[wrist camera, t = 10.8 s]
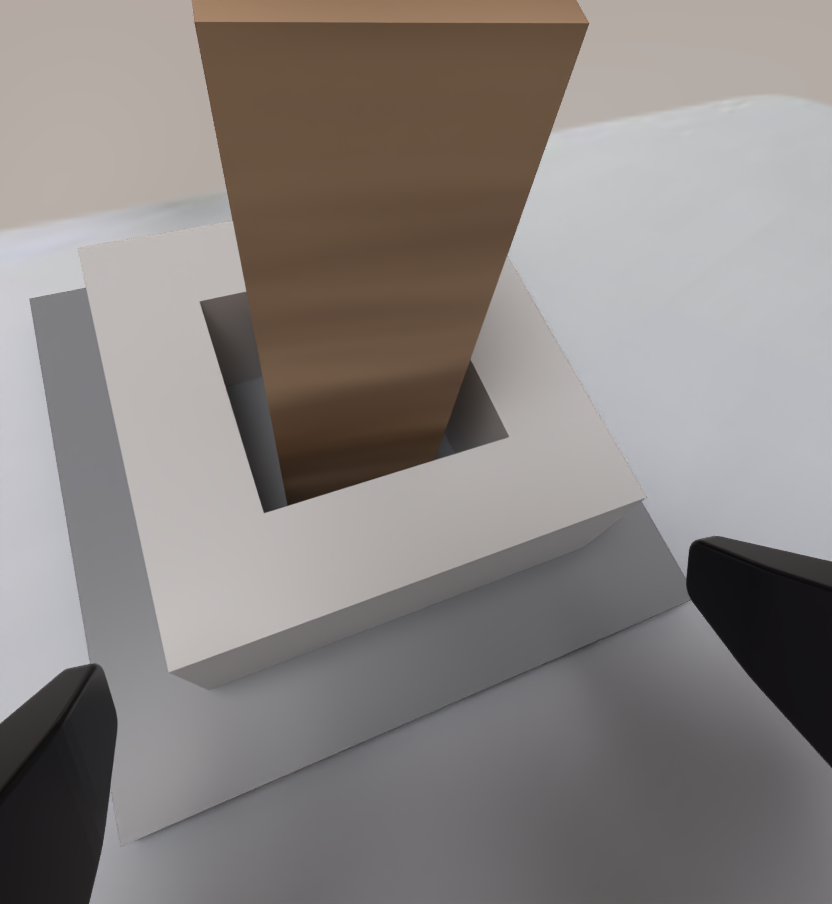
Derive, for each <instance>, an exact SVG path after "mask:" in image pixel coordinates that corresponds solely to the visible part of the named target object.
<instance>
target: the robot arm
mask: <svg viewBox="0 0 832 904" xmlns="http://www.w3.org/2000/svg"><path fill="white" fill-rule="evenodd" d="M686 588H687V592H688V595H689V597H690V599H691V600H692V602H693V603H694V604H695V606H696V607H697V608H698V610H699V611H700V612H701V614H702V615H703V616H704V618H705V619H706V620H707V622H708V623H709V624H710V626H711V627H712V628H713V630H714V631H715V632H716V634H717V635H718V636H719V638H720V639H721V640H722V642H723V643H724V644H725V646H726V647H727V648H728V650H729V651H730V652H731V654H732V655H733V656H734V658H735V659H736V660H737V662H738V663H739V664H740V665H741V667H742V668H743V669H744V670H745V672H746V673H747V674H748V675H749V677H750V678H751V679H752V680H753V681H754V682H755V683H756V685H757V686H758V687H759V688H760V689H761V690H762V691H763V692H764V694H765V695H766V696H767V697H768V698H769V699H770V700H771V701H772V702H773V704H774V705H775V706H776V707H777V708H778V709H779V710H780V711H781V712H782V713H783V715H784V716H785V717H786V718H787V719H788V720H789V721H790V722H791V723H792V725H793V726H794V727H795V728H796V729H797V730H798V731H799V732H800V733H801V734H802V736H803V737H804V738H805V739H806V740H807V741H808V742H809V743H810V744H811V746H812V747H813V748H814V749H815V750H816V751H817V752H818V753H819V754H820V755H821V757H822V758H823V759H824V760H825V761H826V762H827V763H828V764H829V765H830V766H831V768H832V562H831V561H827V560H822V559H818V558H813V557H809V556H805V555H800V554H796V553H791V552H787V551H782V550H778V549H773V548H769V547H765V546H760V545H756V544H751V543H747V542H742V541H738V540H734V539H729V538H725V537H720V536H712V537H707V538H703V539H698V540H695V541H694V542H693V543H692V544H691V546H690V549H689V557H688V568H687V578H686ZM117 730H118V720H117V712H116V708H115V705H114V702H113V699H112V695H111V692H110V689H109V685H108V682H107V679H106V675H105V672H104V670H103V668H102V667H101V666H100V665H99V664H97V663H93V664H88V665H83V666H78V667H73V668H68V669H66V670H64V671H63V672H61V673H60V674H59V675H58V676H56V677H55V678H54V679H53V680H52V681H50V682H49V683H48V684H47V685H46V686H44V687H43V688H42V689H41V690H40V691H39V692H37V693H36V694H35V695H34V696H33V697H31V698H30V699H29V700H28V701H27V702H25V703H24V704H23V705H22V706H21V707H19V708H18V709H17V710H16V711H15V712H13V713H12V714H11V715H10V716H9V717H8V718H6V719H5V720H4V721H3V722H2V723H0V904H89V902H90V898H91V893H92V889H93V885H94V881H95V877H96V873H97V869H98V864H99V860H100V855H101V850H102V846H103V839H104V833H105V826H106V818H107V810H108V802H109V794H110V786H111V778H112V770H113V762H114V755H115V747H116V739H117Z"/></svg>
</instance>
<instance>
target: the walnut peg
mask: <svg viewBox="0 0 832 904" xmlns="http://www.w3.org/2000/svg"><path fill="white" fill-rule="evenodd" d="M192 5H193V14H194V22H195V27H196V33H197V38H198V43H199V48H200V53H201V59H202V64H203V69H204V74H205V79H206V85H207V90H208V95H209V100H210V105H211V111H212V116H213V121H214V126H215V131H216V137H217V141H218V147H219V152H220V157H221V162H222V168H223V173H224V177H225V183H226V189H227V194H228V199H229V204H230V209H231V215H232V220H233V225H234V230H235V235H236V241H237V246H238V251H239V256H240V261H241V266H242V272H243V277H244V282H245V287H246V292H247V298H248V303H249V308H250V313H251V318H252V324H253V329H254V334H255V339H256V344H257V350H258V355H259V360H260V365H261V370H262V376H263V381H264V386H265V391H266V396H267V402H268V407H269V412H270V417H271V422H272V428H273V433H274V438H275V443H276V448H277V454H278V459H279V464H280V469H281V474H282V480H283V485H284V490H285V495H286V500H287V506H289V505H292V504H296V503H299V502H302V501H305V500H309V499H312V498H315V497H318V496H321V495H325V494H328V493H331V492H334V491H338V490H341V489H344V488H347V487H350V486H354V485H357V484H360V483H363V482H367V481H370V480H373V479H376V478H379V477H383V476H386V475H389V474H392V473H395V472H399V471H402V470H405V469H408V468H412V467H415V466H418V465H421V464H424V463H428V462H431V461H434V460H435V458H436V455H437V452H438V450H439V447H440V444H441V441H442V438H443V435H444V433H445V430H446V427H447V424H448V421H449V418H450V416H451V413H452V410H453V407H454V404H455V401H456V399H457V396H458V393H459V390H460V387H461V385H462V382H463V379H464V376H465V373H466V370H467V368H468V365H469V362H470V359H471V356H472V353H473V351H474V348H475V345H476V342H477V339H478V336H479V334H480V331H481V328H482V325H483V322H484V319H485V317H486V314H487V311H488V308H489V305H490V302H491V300H492V297H493V294H494V291H495V288H496V286H497V283H498V280H499V277H500V274H501V271H502V269H503V266H504V263H505V260H506V257H507V254H508V252H509V249H510V246H511V243H512V240H513V237H514V235H515V232H516V229H517V226H518V223H519V220H520V218H521V215H522V212H523V209H524V206H525V204H526V201H527V198H528V195H529V192H530V189H531V187H532V184H533V181H534V178H535V175H536V172H537V170H538V167H539V164H540V161H541V158H542V155H543V153H544V150H545V147H546V144H547V141H548V138H549V136H550V133H551V130H552V127H553V124H554V122H555V118H556V116H557V113H558V110H559V107H560V105H561V102H562V98H563V96H564V93H565V90H566V88H567V85H568V82H569V79H570V76H571V73H572V71H573V68H574V65H575V62H576V59H577V56H578V54H579V51H580V48H581V45H582V42H583V40H584V36H585V33H586V31H587V28H588V25H589V22H588V20H587V18H586V17H585V15H584V13H583V11H582V10H581V8H580V6H579V4H578V3H577V1H576V0H192Z"/></svg>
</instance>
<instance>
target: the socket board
mask: <svg viewBox="0 0 832 904" xmlns="http://www.w3.org/2000/svg"><path fill="white" fill-rule="evenodd" d="M78 252H79V257H80V262H81V266H82V271H83V276H84V280H85V285H86V288H82V289H77V290H72V291H67V292H62V293H57V294H51V295H46V296H41V297H36V298H31V299H30V305H31V311H32V317H33V323H34V329H35V335H36V341H37V347H38V353H39V359H40V365H41V371H42V377H43V383H44V389H45V395H46V401H47V407H48V413H49V419H50V425H51V431H52V437H53V443H54V449H55V455H56V461H57V467H58V473H59V479H60V485H61V491H62V497H63V503H64V509H65V516H66V522H67V528H68V534H69V540H70V546H71V552H72V558H73V564H74V570H75V576H76V582H77V588H78V594H79V600H80V606H81V612H82V618H83V624H84V630H85V636H86V642H87V648H88V654H89V660H90V664H93V663H97V664H99V665H100V666H101V667H102V668H103V670H104V672H105V675H106V679H107V682H108V685H109V689H110V692H111V695H112V699H113V702H114V705H115V708H116V712H117V720H118V730H117V739H116V747H115V755H114V762H113V770H112V778H111V786H110V787H111V793H112V799H113V805H114V811H115V817H116V823H117V829H118V835H119V841H120V847H121V846H123V845H126V844H128V843H130V842H133V841H135V840H137V839H140V838H142V837H144V836H147V835H149V834H151V833H153V832H156V831H158V830H160V829H163V828H165V827H167V826H170V825H172V824H174V823H177V822H179V821H181V820H183V819H186V818H188V817H190V816H193V815H195V814H197V813H200V812H202V811H204V810H207V809H209V808H211V807H214V806H216V805H218V804H220V803H223V802H225V801H227V800H230V799H232V798H234V797H237V796H239V795H241V794H244V793H246V792H248V791H251V790H253V789H255V788H257V787H260V786H262V785H264V784H267V783H269V782H271V781H274V780H276V779H278V778H281V777H283V776H285V775H288V774H290V773H292V772H294V771H297V770H299V769H301V768H304V767H306V766H308V765H311V764H313V763H315V762H318V761H320V760H322V759H325V758H327V757H329V756H331V755H334V754H336V753H338V752H341V751H343V750H345V749H348V748H350V747H352V746H355V745H357V744H359V743H362V742H364V741H366V740H368V739H371V738H373V737H375V736H378V735H380V734H382V733H385V732H387V731H389V730H392V729H394V728H396V727H399V726H401V725H403V724H405V723H408V722H410V721H412V720H415V719H417V718H419V717H422V716H424V715H426V714H429V713H431V712H433V711H436V710H438V709H440V708H442V707H445V706H447V705H449V704H452V703H454V702H456V701H459V700H461V699H463V698H466V697H468V696H470V695H473V694H475V693H477V692H479V691H482V690H484V689H486V688H489V687H491V686H493V685H496V684H498V683H500V682H503V681H505V680H507V679H509V678H512V677H514V676H516V675H519V674H521V673H523V672H526V671H528V670H530V669H533V668H535V667H537V666H540V665H542V664H544V663H546V662H549V661H551V660H553V659H556V658H558V657H560V656H563V655H565V654H567V653H570V652H572V651H574V650H577V649H579V648H581V647H583V646H586V645H588V644H590V643H593V642H595V641H597V640H600V639H602V638H604V637H607V636H609V635H611V634H614V633H616V632H618V631H620V630H623V629H625V628H627V627H630V626H632V625H634V624H637V623H639V622H641V621H644V620H646V619H648V618H651V617H653V616H655V615H657V614H660V613H662V612H664V611H667V610H669V609H671V608H674V607H676V606H678V605H681V604H683V603H685V602H688V601H690V600H691V599H690V597H689V595H688V592H687V588H686V578H685V576H684V575H683V573H682V571H681V569H680V568H679V566H678V564H677V562H676V561H675V559H674V557H673V555H672V554H671V552H670V550H669V548H668V547H667V545H666V543H665V541H664V540H663V538H662V536H661V534H660V533H659V531H658V529H657V527H656V526H655V524H654V522H653V520H652V519H651V517H650V515H649V513H648V512H647V510H646V508H645V506H644V505H643V503H642V501H643V500H644V499H645V498H647V496H646V495H645V493H644V491H643V489H642V488H641V486H640V484H639V482H638V481H637V479H636V477H635V476H634V474H633V472H632V470H631V469H630V467H629V465H628V463H627V462H626V460H625V458H624V456H623V455H622V453H621V451H620V450H619V448H618V446H617V444H616V443H615V441H614V439H613V437H612V436H611V434H610V432H609V430H608V429H607V427H606V425H605V424H604V422H603V420H602V418H601V417H600V415H599V413H598V411H597V410H596V408H595V406H594V405H593V403H592V401H591V399H590V398H589V396H588V394H587V392H586V391H585V389H584V387H583V385H582V384H581V382H580V380H579V379H578V377H577V375H576V373H575V372H574V370H573V368H572V366H571V365H570V363H569V361H568V359H567V358H566V356H565V354H564V353H563V351H562V349H561V347H560V346H559V344H558V342H557V340H556V339H555V337H554V335H553V334H552V332H551V330H550V328H549V327H548V325H547V323H546V321H545V320H544V318H543V316H542V314H541V313H540V311H539V309H538V308H537V306H536V304H535V302H534V301H533V299H532V297H531V295H530V294H529V292H528V290H527V288H526V287H525V285H524V283H523V282H522V280H521V278H520V276H519V275H518V273H517V271H516V269H515V268H514V266H513V264H512V263H511V261H510V259H509V257H508V256H507V257H506V260H505V263H504V266H503V269H502V271H501V274H500V277H499V280H498V283H497V286H496V288H495V291H494V294H493V297H492V300H491V302H490V305H489V308H488V311H487V314H486V317H485V319H484V322H483V325H482V328H481V331H480V334H479V336H478V339H477V342H476V345H475V348H474V351H473V353H472V356H471V359H470V362H469V365H468V368H467V370H466V373H465V376H464V379H463V382H462V385H461V387H460V390H459V393H458V396H457V399H456V401H455V404H454V407H453V410H452V413H451V416H450V418H449V421H448V424H447V427H446V430H445V433H444V435H443V438H442V441H441V444H440V447H439V450H438V452H437V455H436V458H435V460H434V461H431V462H428V463H424V464H421V465H418V466H415V467H412V468H408V469H405V470H402V471H399V472H395V473H392V474H389V475H386V476H383V477H379V478H376V479H373V480H370V481H367V482H363V483H360V484H357V485H354V486H350V487H347V488H344V489H341V490H338V491H334V492H331V493H328V494H325V495H321V496H318V497H315V498H312V499H309V500H305V501H302V502H299V503H296V504H292V505H289V506H287V500H286V495H285V490H284V485H283V480H282V474H281V469H280V464H279V459H278V454H277V448H276V443H275V438H274V433H273V428H272V422H271V417H270V412H269V407H268V402H267V396H266V391H265V386H264V381H263V376H262V370H261V365H260V360H259V355H258V350H257V344H256V339H255V334H254V329H253V324H252V318H251V313H250V308H249V303H248V298H247V292H246V287H245V282H244V277H243V272H242V266H241V261H240V256H239V251H238V246H237V241H236V235H235V230H234V225H233V221H228V222H222V223H216V224H211V225H205V226H199V227H194V228H188V229H182V230H177V231H171V232H165V233H160V234H154V235H148V236H143V237H137V238H131V239H126V240H120V241H114V242H109V243H103V244H98V245H92V246H86V247H81V248H78Z"/></svg>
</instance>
